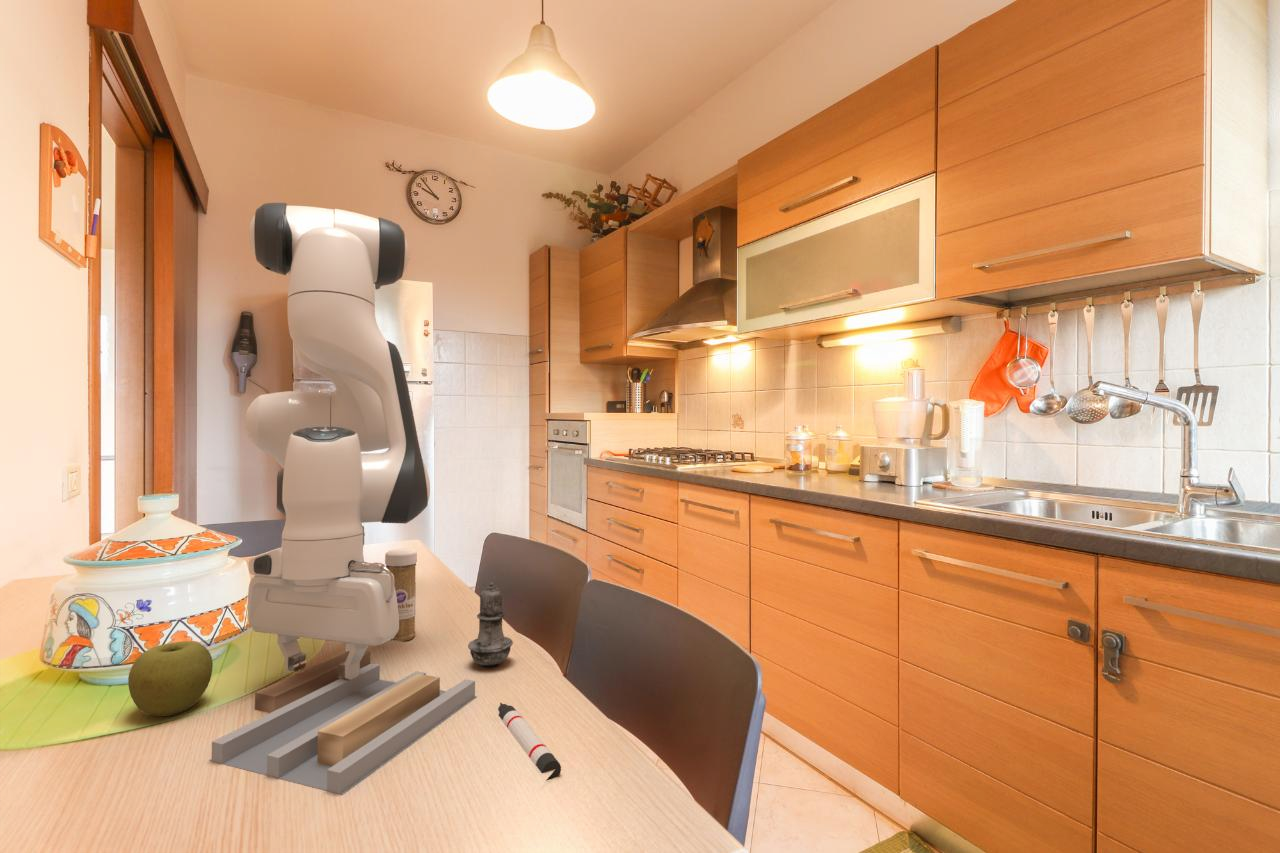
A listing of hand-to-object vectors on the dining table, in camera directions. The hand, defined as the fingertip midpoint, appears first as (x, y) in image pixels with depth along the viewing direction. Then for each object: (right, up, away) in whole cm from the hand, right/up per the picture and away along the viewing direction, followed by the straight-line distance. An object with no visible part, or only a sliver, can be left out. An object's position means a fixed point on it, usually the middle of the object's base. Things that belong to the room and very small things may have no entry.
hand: (322, 673), depth 72 cm
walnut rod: (-1, -3, +1) cm, 3 cm away
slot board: (+9, -3, -9) cm, 13 cm away
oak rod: (+12, -2, -10) cm, 16 cm away
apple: (-15, -3, -4) cm, 16 cm away
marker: (+26, -3, -11) cm, 29 cm away
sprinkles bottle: (+1, -3, +20) cm, 20 cm away
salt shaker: (+18, -3, +8) cm, 20 cm away
